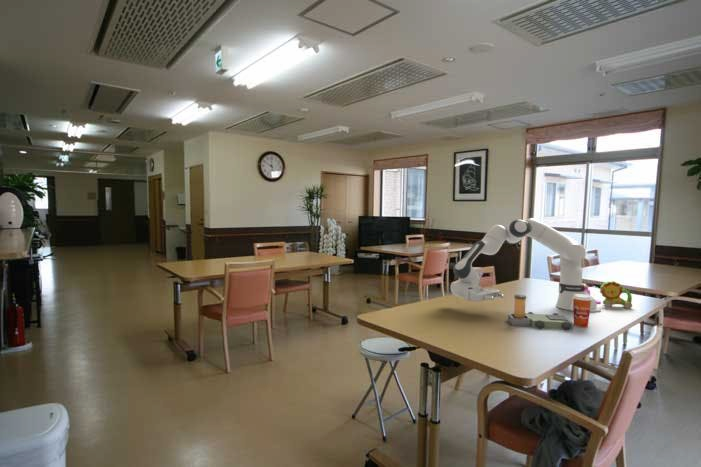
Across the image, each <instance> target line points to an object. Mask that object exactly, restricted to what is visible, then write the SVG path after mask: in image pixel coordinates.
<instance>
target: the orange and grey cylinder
mask: <svg viewBox="0 0 701 467" xmlns="http://www.w3.org/2000/svg"><path fill="white" fill-rule="evenodd" d="M513 297H514V305H513V306H514V308H513V309H514V310H513V314H514V318H523V319H525V313H526V299H527V296H526V295H524V294H514V295H513Z"/></svg>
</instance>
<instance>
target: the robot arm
mask: <svg viewBox="0 0 701 467" xmlns="http://www.w3.org/2000/svg"><path fill="white" fill-rule="evenodd" d="M525 237H528V238H529V237H530V238H531V239H533V240H535V242H537V243H539V244H541V245H543V246H544V247H546V248H547V249H549V250H551V251H553V252H554V253H556V254H558V255H559V264H560V265H559V267H560V274H559V275H560V277H559V283H558V297H557V302H556V304H555V307H557V308H558V309H563V310H566V311H571V312H573V296H574V294H583V295H588V296H591V294H590V295H589V294H588V293H587V292H585V290H588V289H589V286H587V285H584V284H583V268H582V260H583V259H584V258H585V257H586V254H587V253H586V252H587V251H586V248H585V245H583V244H582V243H580V242H578V241H577V240H576V239H575V240H574V239H573V238H571V237H570V236H568V235H565V234H564V233H562V232H560V231H558V230H557V229H555V228H553V227H552V226H549V225H548V224H546V223H545V222H543V221H541V220H538V219H535V218H533V217H530V218H528V219H525V220H524V219H515V220H513V221H511V222H510V223H509V224H508V225H507V226H503V225H500V224H494V225H493V226H492V227H490V228H489V230H488V231H487V232H486V233H485V235H484V236H483V238H482V239H481V240H478V241H476V242H475V243H473V245H472V246H471V247H470V248H469V249H468V250H467V252H466V253H465V254H464V256H462V258H461V259H460V260H458V261H457V262H456V263H455V264H454V266H453V274H454V275H455V276H456V277H457V278H458V279H457V280H456V281H453V282H451V284H450V291H451V293H452V294H453V295H454V296H456V297H458V298H463V299H465V300H466V301H467V302H483V301H494V300H495V298H502V299H503V298H505V294H504V293H502V291H501V290H500V289H497V288H484V287H482V285H480V284H479V283H480V281H481V275H480V274H479V273H478V272H477V271H476V269H475V268H474V267H473V265H472V264H473V262H474V261H475V260H476V259H477V257H478V256H479V255H480V254H484V255H488V256H494V255H496V254H497V253H498V252H499V251H500V249H501V247H502V246H503V244H504V243H507V244H508V245H515V244H518V243H519V242H521V241H522V240H523V239H524V238H525ZM591 299H592V300H591V305H590V312H591V313H592V312H593V313H594V312H596V313H598V312H601V310H602V309H601V308H600V307H599V306H597V304H596V301H595V300H596V298H594V297H593V296H591Z"/></svg>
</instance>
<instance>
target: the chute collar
mask: <svg viewBox="0 0 701 467" xmlns="http://www.w3.org/2000/svg"><path fill="white" fill-rule="evenodd" d="M507 321H508V322H509V324H510V323H511V324H512V325H511V324H510V325H511V326H513V325H516V326H518V327H531V324H532V319H531V318H530V317H529V316H528V315H526V314H525V319H523V318H514V313H507ZM516 326H515V327H516Z"/></svg>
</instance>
